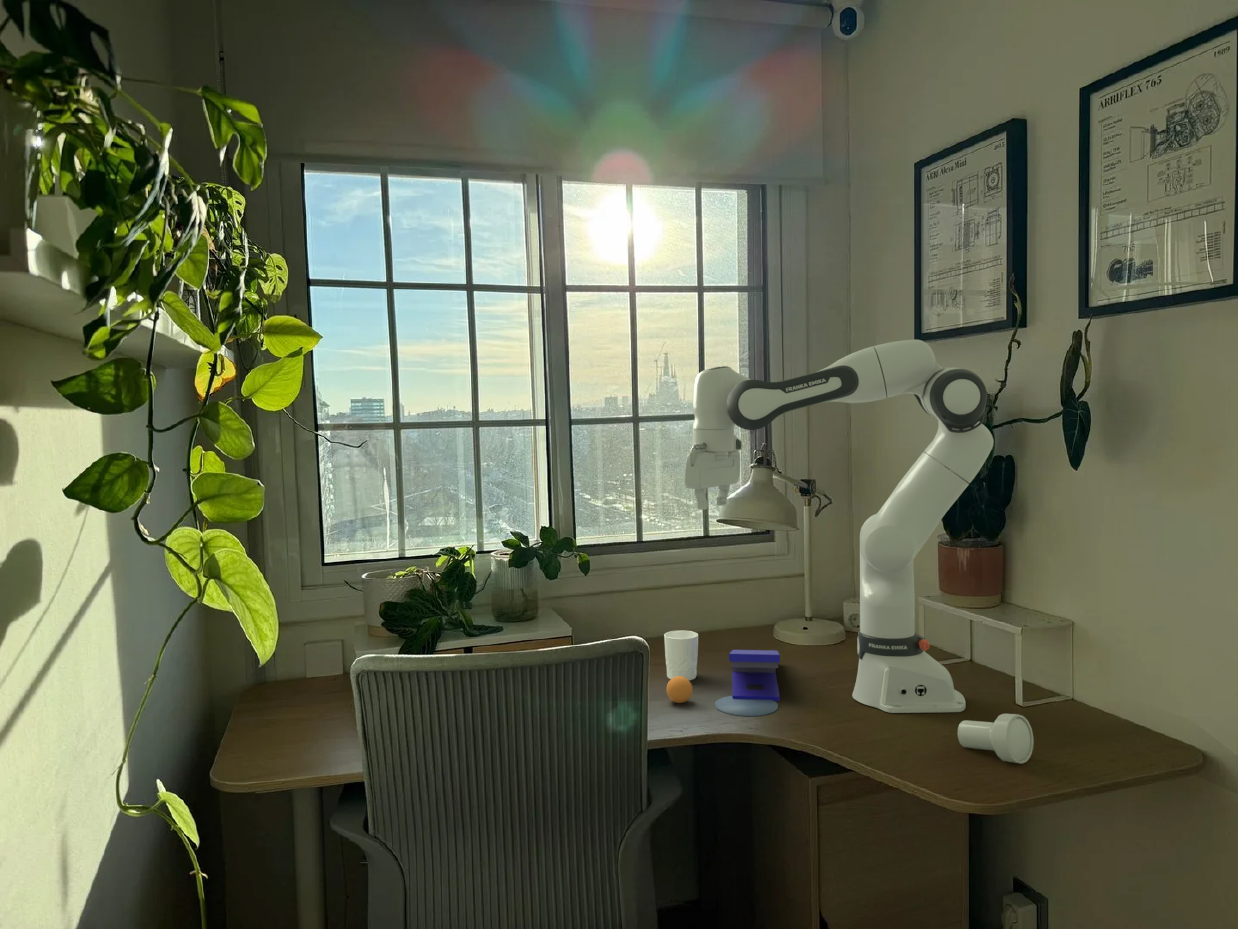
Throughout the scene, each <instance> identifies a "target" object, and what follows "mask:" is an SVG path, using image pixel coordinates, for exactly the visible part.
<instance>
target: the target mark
mask: <svg viewBox="0 0 1238 929" xmlns="http://www.w3.org/2000/svg"><path fill="white" fill-rule="evenodd" d="M714 708H716V709H717V710H718V711H720V712H722V713H725V714H727V715H732V716H737V717H760V716H766V715H770V714H772V713H775V712H776V711H777V710H778V709H779V705H778V703H777V701H773V700H765V699H733V697H732V695H727V696H724V697H721V698H719V699H717V700H716V701H715V702H714Z"/></svg>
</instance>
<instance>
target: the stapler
mask: <svg viewBox="0 0 1238 929" xmlns="http://www.w3.org/2000/svg"><path fill="white" fill-rule="evenodd" d="M728 657H729V658H728V660H729V661H728V662H731V669H732V670H731V671H732V674H731V675H732V676H731V678H732V684H731V685H732V686H731V687H732V690H731V691H732V695H731V696H732V697H733V699H765V700H773V701H775V702H780V700H781V699H780V691H779V685H778V684H779V683H778V680H777V674H776V669H779V663H781V658H780V657H781V655H780V653H779V651H778V650H772V649H771V650H770V649H769V650H766V649H765V650H764V649H763V650H761V649H732V650H731V651H730V652H729V654H728Z"/></svg>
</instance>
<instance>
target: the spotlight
mask: <svg viewBox="0 0 1238 929" xmlns="http://www.w3.org/2000/svg"><path fill="white" fill-rule="evenodd" d="M957 739H958V742H959V744H960V746H962V747H963V748H968V749H976V750H983V751H984V750H986V751H987V750H988V751H994V752H995V754H996V756H997V757H998V758H999V759H1000V760H1001V761H1002V762H1006V761H1007V762H1006V763H1012V762H1013V763H1012V764H1014V763H1016V764H1022V765H1023V764H1024V763H1026V762H1028V760H1030V759H1031V757H1032V753H1033V749H1034V739H1035V738H1034V733H1033V729H1032V726H1031V724H1030V722H1029V720H1028V719H1027V718H1026V717H1025V716H1024V715H1022V714H1018V713H1001V714H1000V715H998V716H997V718H996V719H995V720H994V722H993V721H992V722H991V721H980V720H979V721H978V720H967V719H966V720H965V719H964V720H962V721H961V722H960V723H959V724H958V727H957Z"/></svg>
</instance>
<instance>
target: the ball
mask: <svg viewBox="0 0 1238 929" xmlns="http://www.w3.org/2000/svg"><path fill="white" fill-rule="evenodd" d="M690 681H691V680H688V679H687V678H685V677H682V676H676V677H674V678H672V679H669V680H668V681H667V682H668V683H667V685H666V689H665V690H666V694H667V697H668V698H669V699H670V700H671V701H673V702H674V703H677V704H683V703H686V702H687V701H688V700H690V698H691V697H692V694H693V690H694V689H693V685H692V682H690Z"/></svg>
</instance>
